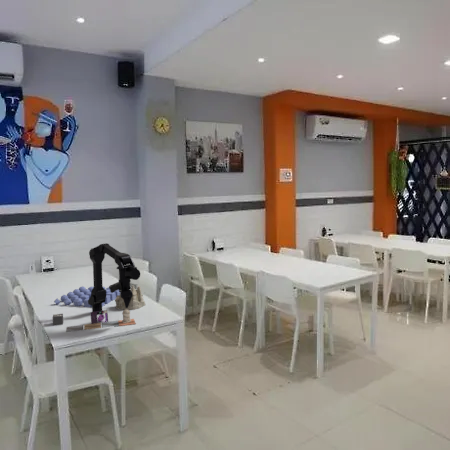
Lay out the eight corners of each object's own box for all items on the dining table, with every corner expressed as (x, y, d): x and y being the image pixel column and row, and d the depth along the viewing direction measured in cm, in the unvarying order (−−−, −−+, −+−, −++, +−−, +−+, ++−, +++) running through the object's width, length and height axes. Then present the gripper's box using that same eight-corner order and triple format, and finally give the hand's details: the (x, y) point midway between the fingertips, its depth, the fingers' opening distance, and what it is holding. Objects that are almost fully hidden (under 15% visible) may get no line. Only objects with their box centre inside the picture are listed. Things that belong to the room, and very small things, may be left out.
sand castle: (149, 304, 269) (146, 281, 267) (131, 312, 255) (128, 288, 253) (130, 302, 277) (127, 280, 275) (112, 310, 262) (109, 287, 261)
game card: (90, 312, 233) (107, 310, 236) (90, 312, 238) (106, 310, 241) (91, 324, 232) (108, 322, 235) (91, 324, 237) (107, 322, 240)
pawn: (121, 321, 236) (121, 308, 235) (130, 320, 237) (130, 307, 236) (122, 323, 231) (121, 311, 230) (131, 322, 233) (130, 310, 232)
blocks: (101, 308, 265) (100, 300, 264) (51, 306, 272) (51, 298, 271) (125, 293, 299) (125, 286, 298) (81, 292, 306) (80, 285, 306)
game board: (66, 327, 229) (66, 326, 229) (133, 319, 240) (133, 318, 239) (66, 332, 221) (65, 332, 221) (135, 324, 231) (135, 323, 231)
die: (53, 323, 236) (53, 314, 236) (63, 322, 238) (62, 313, 237) (53, 326, 231) (52, 317, 231) (62, 325, 233) (62, 315, 232)
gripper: (108, 275, 238) (110, 302, 239) (110, 282, 220) (111, 312, 222) (128, 273, 241) (130, 300, 243) (132, 280, 224) (133, 309, 225)
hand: (126, 305), depth 233 cm, fingers open, 9 cm apart
